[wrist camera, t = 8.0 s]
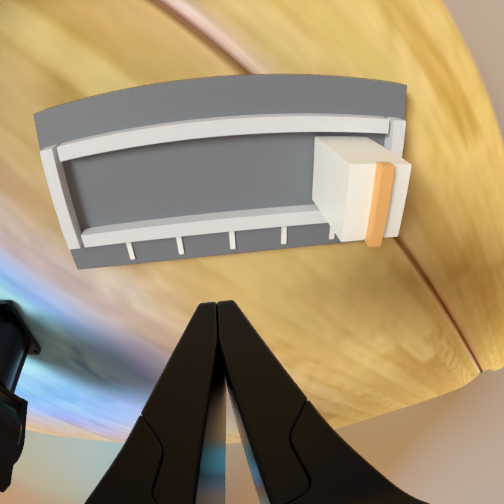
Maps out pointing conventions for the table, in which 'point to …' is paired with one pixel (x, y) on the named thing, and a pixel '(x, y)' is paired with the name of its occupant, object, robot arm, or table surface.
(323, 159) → the fader knob
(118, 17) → the table surface
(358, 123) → the fader console
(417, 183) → the table surface
